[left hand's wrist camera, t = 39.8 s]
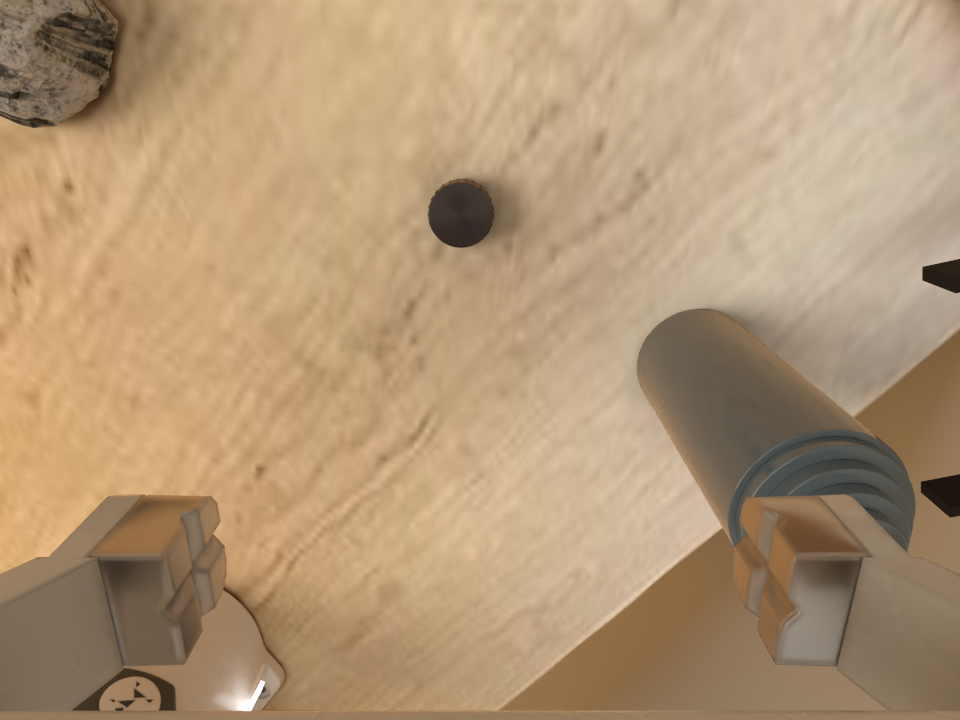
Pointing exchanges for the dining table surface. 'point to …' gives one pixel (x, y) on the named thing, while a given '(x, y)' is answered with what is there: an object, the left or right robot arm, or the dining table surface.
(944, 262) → the right robot arm
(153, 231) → the dining table surface
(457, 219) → the cap
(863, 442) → the bottle
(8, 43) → the rock
